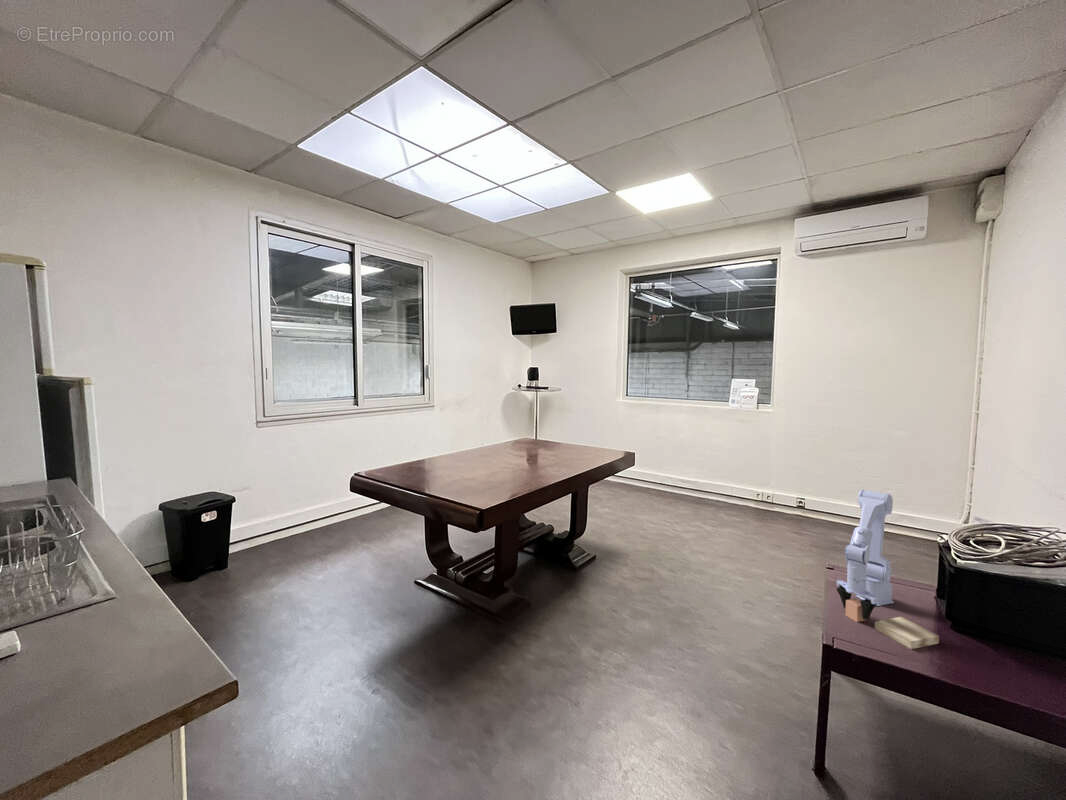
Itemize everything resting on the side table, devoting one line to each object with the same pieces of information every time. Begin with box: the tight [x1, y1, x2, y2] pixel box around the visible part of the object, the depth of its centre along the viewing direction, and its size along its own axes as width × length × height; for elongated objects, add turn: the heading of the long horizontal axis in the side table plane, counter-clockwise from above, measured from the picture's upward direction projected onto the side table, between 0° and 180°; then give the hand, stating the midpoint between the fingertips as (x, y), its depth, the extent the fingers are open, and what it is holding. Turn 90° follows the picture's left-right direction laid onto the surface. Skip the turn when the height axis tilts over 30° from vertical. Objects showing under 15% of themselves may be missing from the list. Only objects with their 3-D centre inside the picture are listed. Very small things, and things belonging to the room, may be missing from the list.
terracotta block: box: [845, 598, 868, 623], centre depth 160 cm, size 4×4×6 cm
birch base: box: [874, 616, 940, 650], centre depth 149 cm, size 12×12×3 cm
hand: (856, 613), depth 160 cm, fingers open, 7 cm apart
